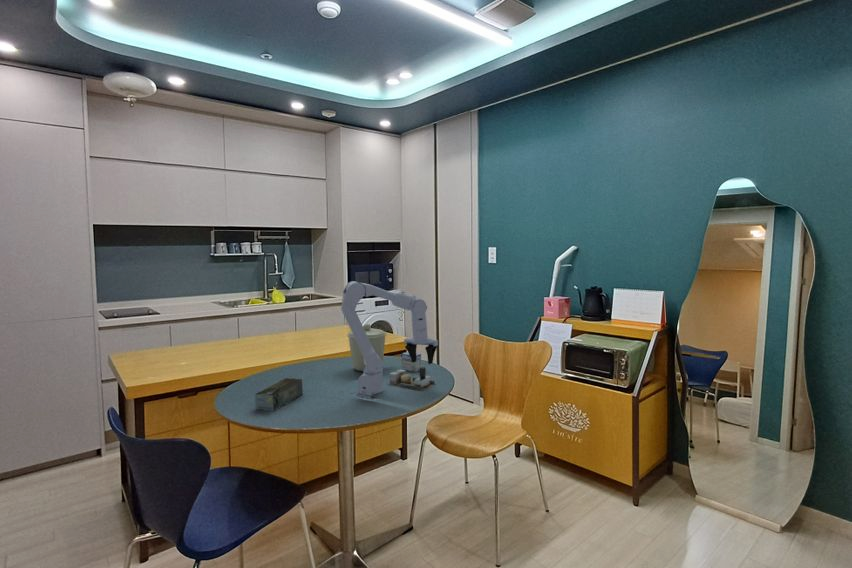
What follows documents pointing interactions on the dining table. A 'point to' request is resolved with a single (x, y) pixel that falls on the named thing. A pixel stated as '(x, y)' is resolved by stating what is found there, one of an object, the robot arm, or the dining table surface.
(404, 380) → the potato
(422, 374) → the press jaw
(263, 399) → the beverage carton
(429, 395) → the dining table surface
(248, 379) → the dining table surface
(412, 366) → the medicine box
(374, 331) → the canister
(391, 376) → the base
